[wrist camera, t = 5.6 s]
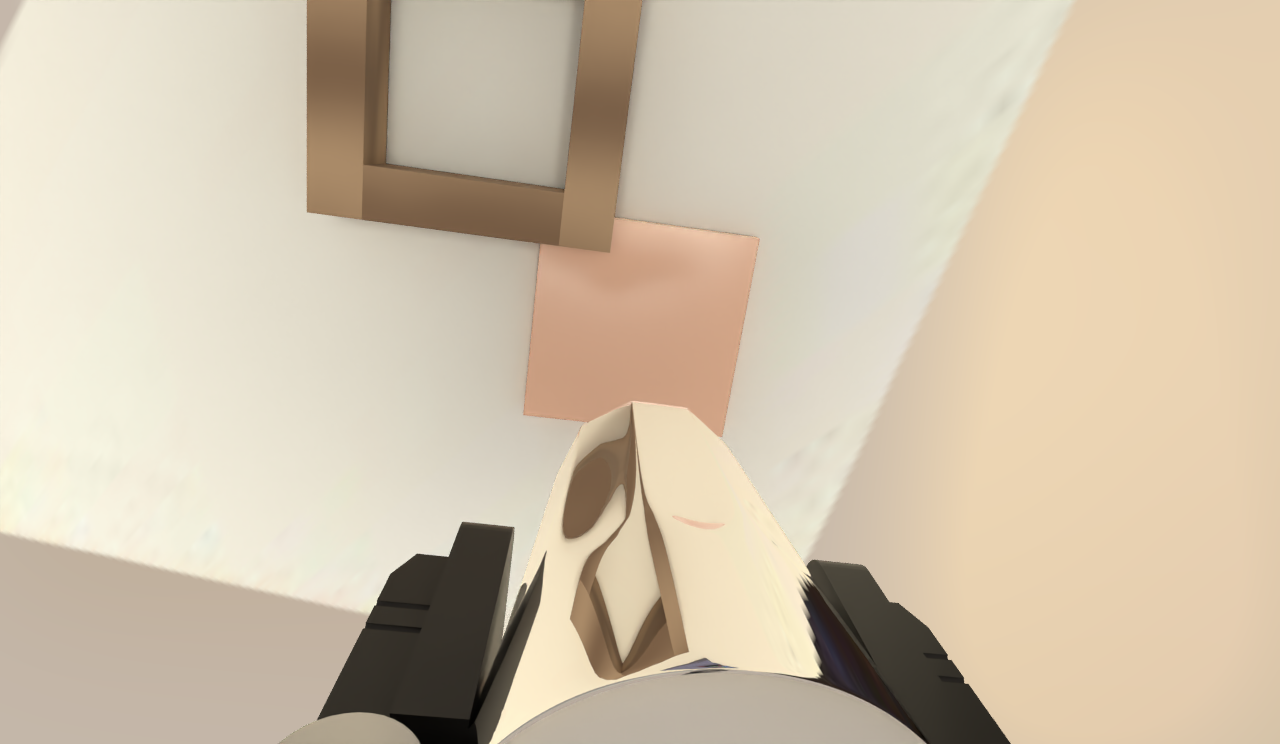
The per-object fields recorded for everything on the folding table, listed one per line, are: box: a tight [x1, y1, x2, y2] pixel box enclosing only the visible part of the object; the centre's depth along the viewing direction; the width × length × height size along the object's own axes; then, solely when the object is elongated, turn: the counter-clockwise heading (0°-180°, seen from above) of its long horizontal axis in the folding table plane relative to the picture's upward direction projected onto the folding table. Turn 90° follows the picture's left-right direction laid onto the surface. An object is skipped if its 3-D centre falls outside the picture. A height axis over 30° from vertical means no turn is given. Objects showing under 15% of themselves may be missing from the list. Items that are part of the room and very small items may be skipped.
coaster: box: [523, 217, 760, 437], centre depth 27 cm, size 8×8×1 cm
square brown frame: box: [307, 0, 642, 253], centre depth 23 cm, size 10×10×2 cm
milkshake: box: [462, 400, 932, 744], centre depth 8 cm, size 4×5×10 cm
